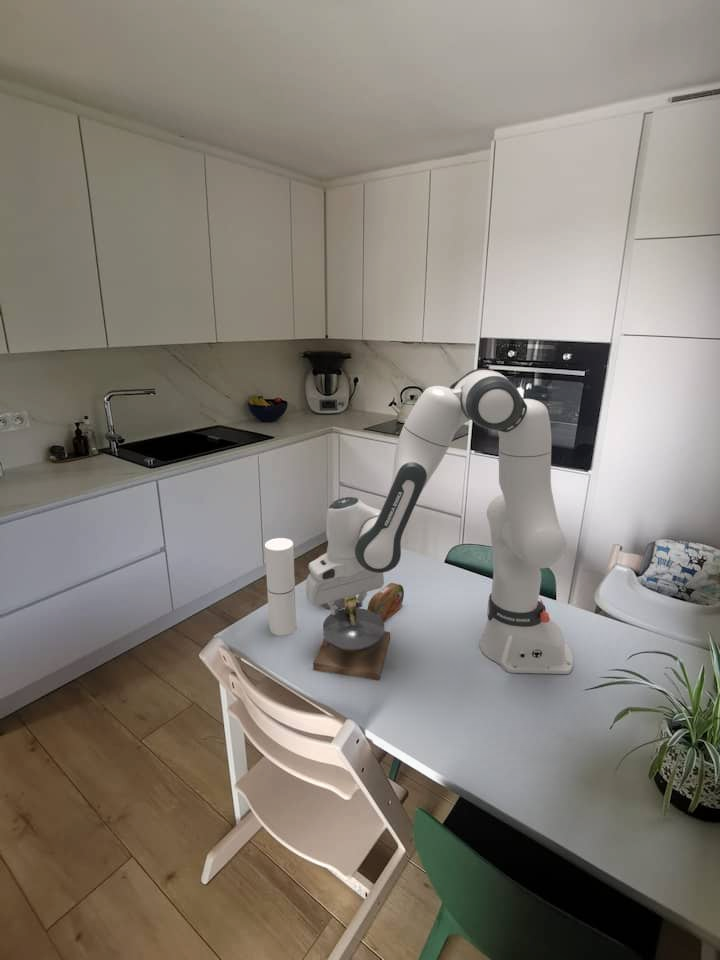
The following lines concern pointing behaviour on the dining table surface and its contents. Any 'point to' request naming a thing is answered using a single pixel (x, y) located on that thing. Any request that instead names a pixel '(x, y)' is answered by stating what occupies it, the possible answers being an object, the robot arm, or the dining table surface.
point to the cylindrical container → (280, 586)
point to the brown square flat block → (353, 660)
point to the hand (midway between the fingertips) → (346, 610)
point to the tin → (387, 601)
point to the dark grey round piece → (353, 628)
